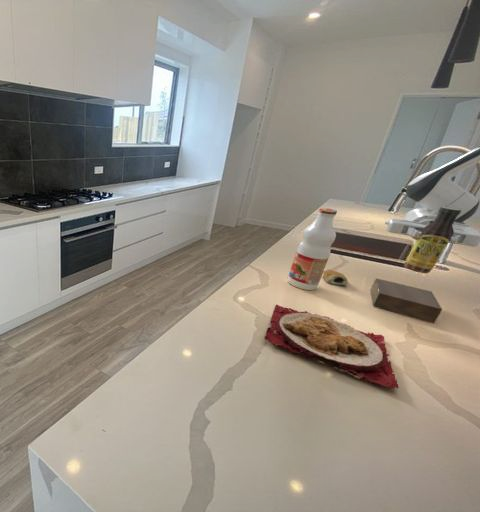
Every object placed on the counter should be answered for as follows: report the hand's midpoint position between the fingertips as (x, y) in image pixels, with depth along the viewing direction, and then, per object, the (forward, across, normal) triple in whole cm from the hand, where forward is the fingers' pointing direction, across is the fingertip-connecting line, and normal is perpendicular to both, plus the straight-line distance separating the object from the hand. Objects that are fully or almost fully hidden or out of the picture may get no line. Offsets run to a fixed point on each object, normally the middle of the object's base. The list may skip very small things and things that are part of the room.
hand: (435, 237), depth 88 cm
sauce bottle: (-1, 0, +11) cm, 11 cm away
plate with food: (+40, -19, +24) cm, 50 cm away
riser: (0, 0, +24) cm, 24 cm away
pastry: (-7, -18, +24) cm, 31 cm away
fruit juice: (+5, -27, +24) cm, 37 cm away
